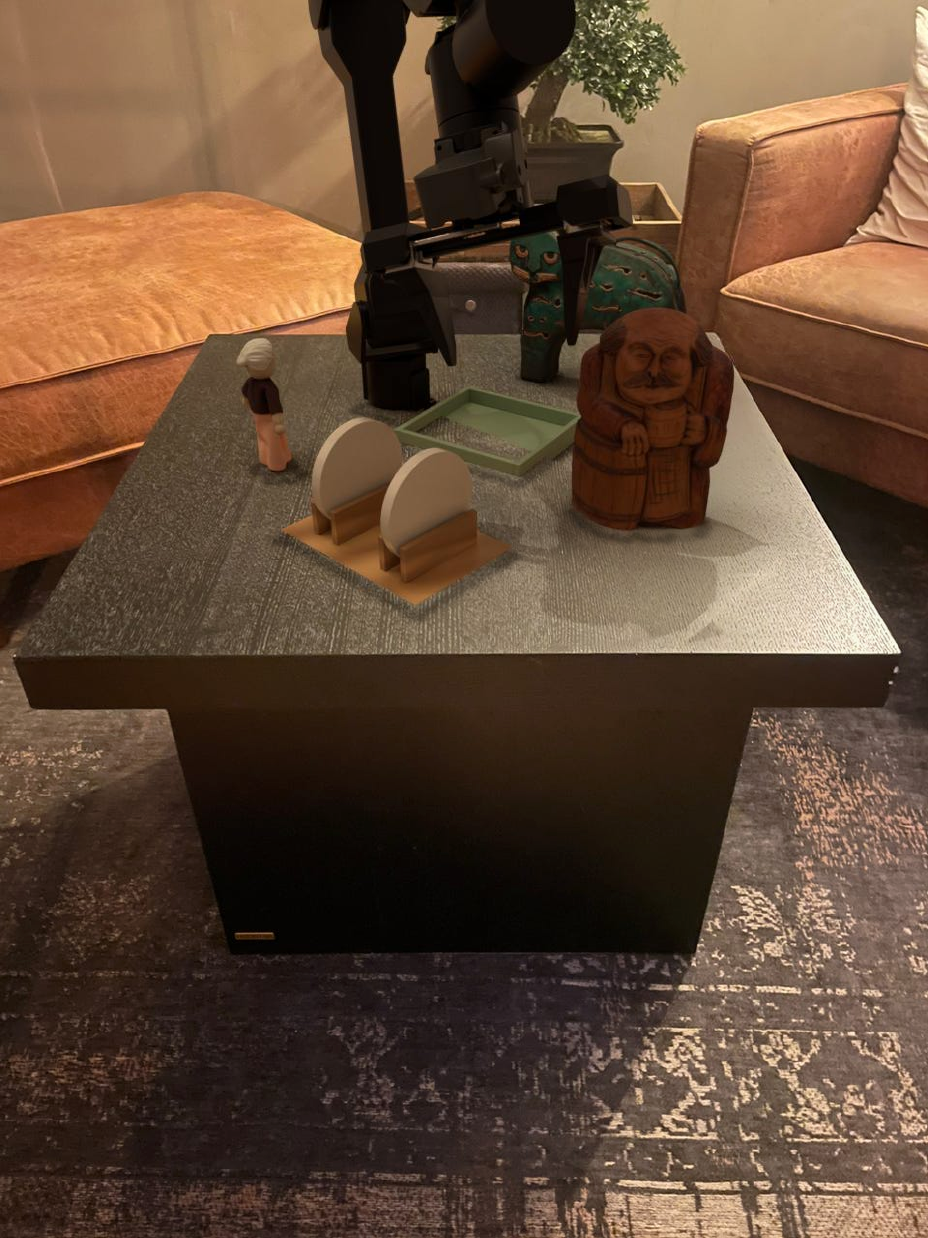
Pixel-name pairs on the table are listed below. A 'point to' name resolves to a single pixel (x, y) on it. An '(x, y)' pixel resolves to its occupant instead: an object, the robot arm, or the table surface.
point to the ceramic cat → (614, 292)
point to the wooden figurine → (650, 422)
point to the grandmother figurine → (265, 403)
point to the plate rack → (421, 560)
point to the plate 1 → (354, 463)
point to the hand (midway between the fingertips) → (510, 356)
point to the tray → (497, 427)
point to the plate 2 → (424, 496)
